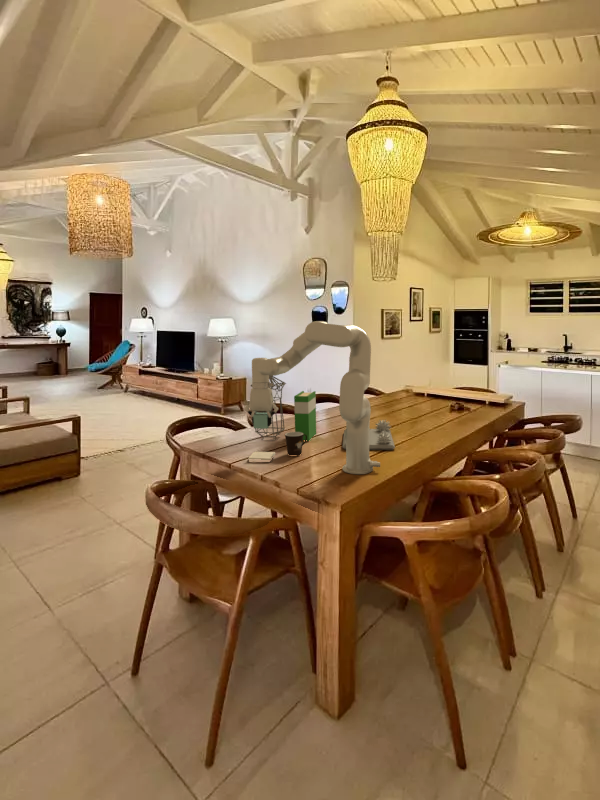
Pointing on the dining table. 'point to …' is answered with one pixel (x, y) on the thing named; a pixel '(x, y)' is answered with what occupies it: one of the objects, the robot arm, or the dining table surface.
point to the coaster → (262, 455)
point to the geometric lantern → (272, 411)
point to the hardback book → (305, 414)
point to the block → (261, 420)
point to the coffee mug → (294, 442)
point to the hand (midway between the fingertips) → (261, 425)
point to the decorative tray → (378, 437)
